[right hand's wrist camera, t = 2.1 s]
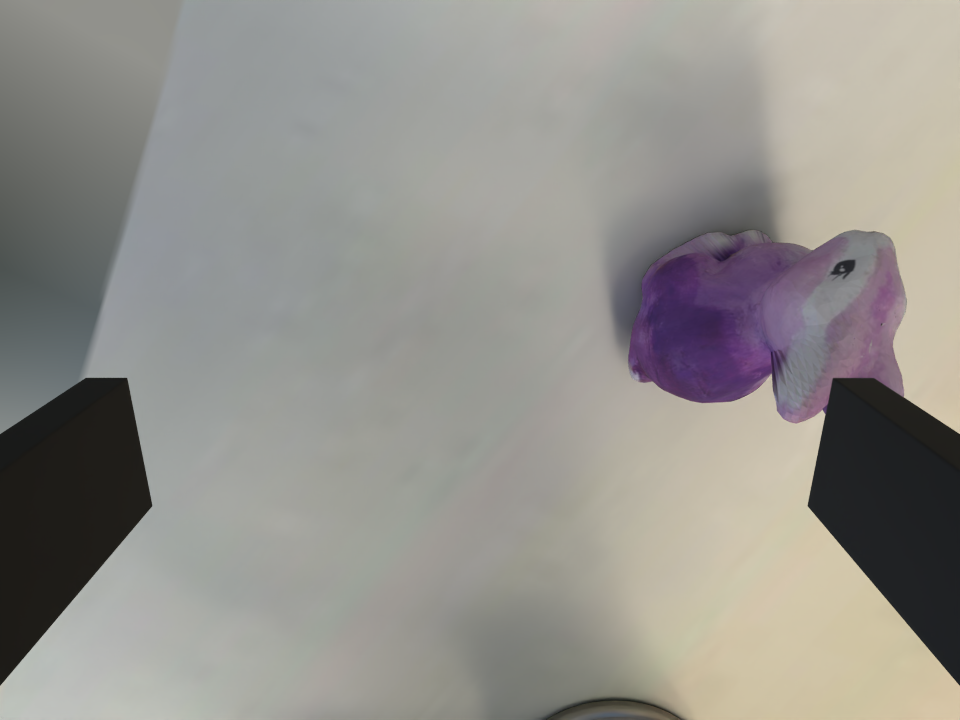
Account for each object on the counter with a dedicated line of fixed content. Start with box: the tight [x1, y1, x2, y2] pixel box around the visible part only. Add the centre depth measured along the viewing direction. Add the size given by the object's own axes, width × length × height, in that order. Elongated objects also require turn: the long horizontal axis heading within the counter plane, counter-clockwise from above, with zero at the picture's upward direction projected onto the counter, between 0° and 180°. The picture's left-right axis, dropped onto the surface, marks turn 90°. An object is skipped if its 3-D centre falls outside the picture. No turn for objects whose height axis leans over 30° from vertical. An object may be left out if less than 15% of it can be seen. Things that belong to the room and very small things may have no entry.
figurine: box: [628, 230, 907, 423], centre depth 31 cm, size 9×10×15 cm
